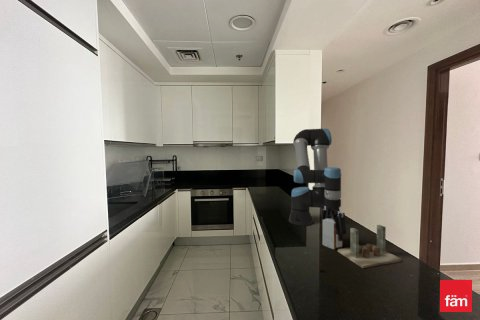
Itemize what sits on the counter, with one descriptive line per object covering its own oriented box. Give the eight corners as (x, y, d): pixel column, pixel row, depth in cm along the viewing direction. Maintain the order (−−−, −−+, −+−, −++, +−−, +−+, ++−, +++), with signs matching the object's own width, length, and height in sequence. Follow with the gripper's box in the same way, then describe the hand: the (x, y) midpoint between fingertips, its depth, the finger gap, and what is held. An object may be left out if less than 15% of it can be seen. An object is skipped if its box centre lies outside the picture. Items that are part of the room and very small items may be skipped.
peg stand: (337, 251, 92) (337, 224, 91) (372, 246, 96) (372, 220, 96) (362, 268, 78) (362, 236, 78) (401, 261, 83) (401, 231, 82)
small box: (334, 250, 93) (334, 223, 93) (322, 244, 98) (322, 219, 98) (343, 245, 98) (343, 219, 97) (331, 240, 103) (331, 216, 102)
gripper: (313, 194, 107) (313, 234, 107) (341, 204, 86) (341, 254, 87) (325, 193, 108) (325, 233, 109) (355, 202, 88) (355, 251, 89)
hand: (332, 242), depth 98 cm, fingers open, 8 cm apart
